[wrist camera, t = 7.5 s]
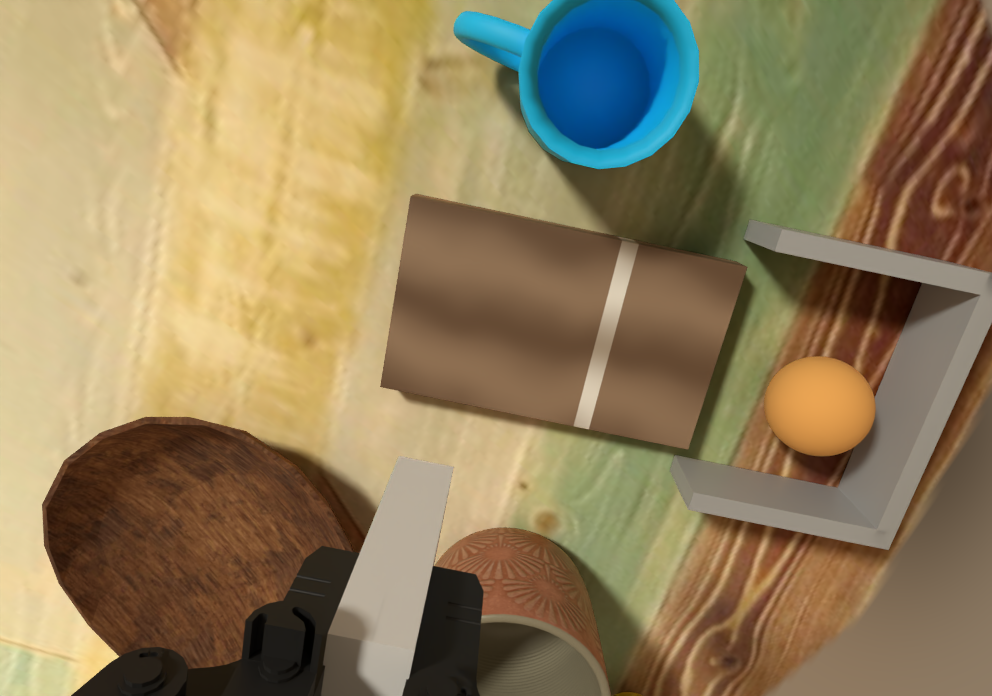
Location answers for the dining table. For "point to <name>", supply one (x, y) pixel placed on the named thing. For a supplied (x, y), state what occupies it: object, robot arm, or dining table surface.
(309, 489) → the bowl
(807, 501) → the grey frame
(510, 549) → the planter
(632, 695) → the fruit
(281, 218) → the dining table surface
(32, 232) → the dining table surface
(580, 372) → the board
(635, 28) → the mug
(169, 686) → the robot arm
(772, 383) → the ball
